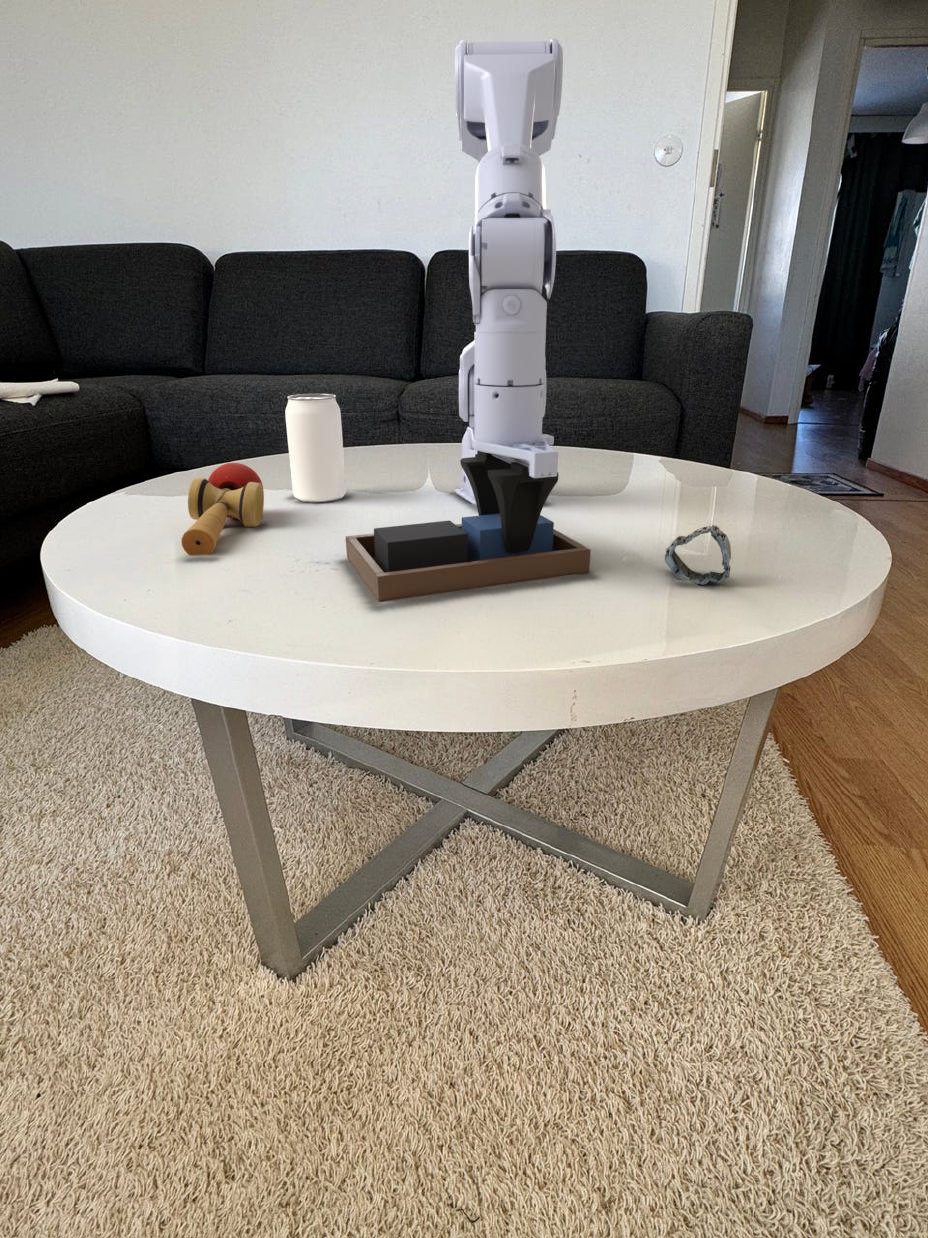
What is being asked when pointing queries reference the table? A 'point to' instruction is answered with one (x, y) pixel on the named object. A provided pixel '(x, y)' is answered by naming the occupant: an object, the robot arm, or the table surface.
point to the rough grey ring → (686, 574)
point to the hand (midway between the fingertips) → (506, 542)
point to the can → (315, 447)
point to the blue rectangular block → (489, 539)
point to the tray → (465, 569)
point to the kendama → (222, 505)
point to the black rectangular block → (420, 546)
